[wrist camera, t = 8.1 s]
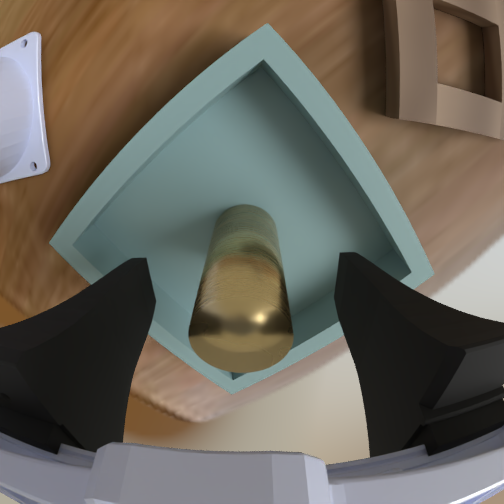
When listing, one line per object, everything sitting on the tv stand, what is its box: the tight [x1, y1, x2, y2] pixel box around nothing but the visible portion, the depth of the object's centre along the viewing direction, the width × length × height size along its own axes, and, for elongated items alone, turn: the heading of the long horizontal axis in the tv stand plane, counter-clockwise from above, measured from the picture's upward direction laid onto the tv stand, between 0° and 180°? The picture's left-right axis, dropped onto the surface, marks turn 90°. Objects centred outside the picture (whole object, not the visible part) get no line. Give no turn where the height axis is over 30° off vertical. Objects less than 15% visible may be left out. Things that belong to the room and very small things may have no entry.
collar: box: [382, 0, 504, 140], centre depth 10 cm, size 8×8×2 cm
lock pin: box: [188, 204, 294, 373], centre depth 12 cm, size 3×3×7 cm
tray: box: [49, 23, 434, 394], centre depth 14 cm, size 13×13×3 cm
